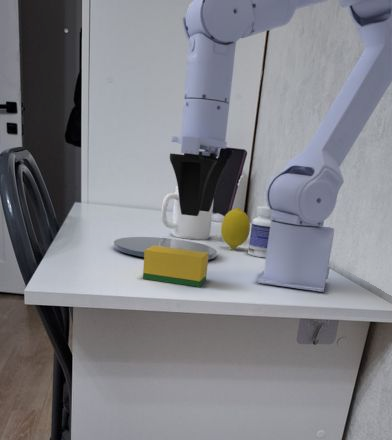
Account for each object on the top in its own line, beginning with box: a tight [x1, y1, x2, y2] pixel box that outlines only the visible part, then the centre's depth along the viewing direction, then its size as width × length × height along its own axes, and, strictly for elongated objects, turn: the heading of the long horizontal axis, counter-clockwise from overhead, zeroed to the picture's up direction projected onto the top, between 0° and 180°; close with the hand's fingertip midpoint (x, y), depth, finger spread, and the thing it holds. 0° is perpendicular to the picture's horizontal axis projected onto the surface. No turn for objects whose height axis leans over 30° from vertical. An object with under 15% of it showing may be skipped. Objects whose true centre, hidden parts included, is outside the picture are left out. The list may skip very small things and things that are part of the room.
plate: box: [113, 236, 218, 261], centre depth 95 cm, size 18×18×1 cm
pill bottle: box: [247, 205, 272, 259], centre depth 102 cm, size 5×5×9 cm
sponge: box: [142, 245, 209, 288], centre depth 75 cm, size 8×4×4 cm, turn 77°
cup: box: [160, 185, 215, 241], centre depth 115 cm, size 8×12×10 cm
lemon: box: [220, 207, 251, 250], centre depth 106 cm, size 6×6×8 cm
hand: (196, 212), depth 72 cm, fingers open, 7 cm apart
